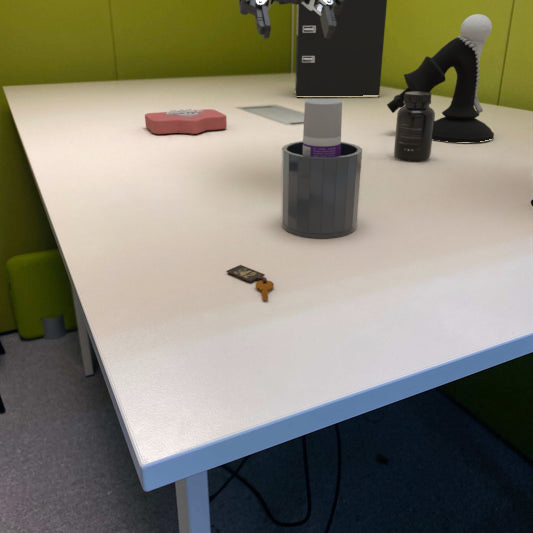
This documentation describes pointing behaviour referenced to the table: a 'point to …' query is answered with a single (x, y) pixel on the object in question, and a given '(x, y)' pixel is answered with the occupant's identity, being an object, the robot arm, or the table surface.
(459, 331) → the table surface
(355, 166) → the grey cylindrical cup
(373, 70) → the binder
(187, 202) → the table surface
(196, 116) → the red sponge
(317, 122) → the container
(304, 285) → the table surface
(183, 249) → the table surface
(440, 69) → the sculpture
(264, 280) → the key tag
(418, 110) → the supplement bottle
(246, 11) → the robot arm
